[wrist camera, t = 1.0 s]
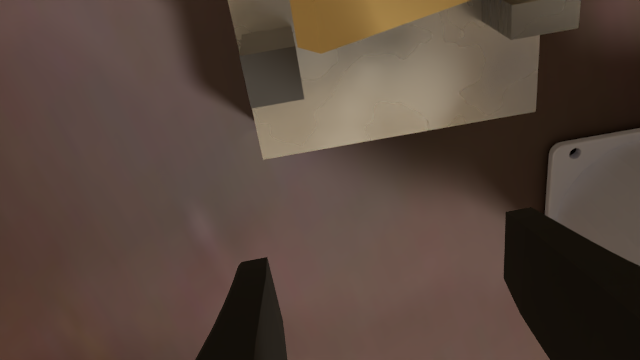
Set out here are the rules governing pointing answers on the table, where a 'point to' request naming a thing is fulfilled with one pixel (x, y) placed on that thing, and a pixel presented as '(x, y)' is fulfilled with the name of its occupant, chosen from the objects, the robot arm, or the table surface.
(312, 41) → the golden yellow flat bar
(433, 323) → the table surface
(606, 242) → the robot arm
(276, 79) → the lug
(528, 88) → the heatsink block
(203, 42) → the table surface
